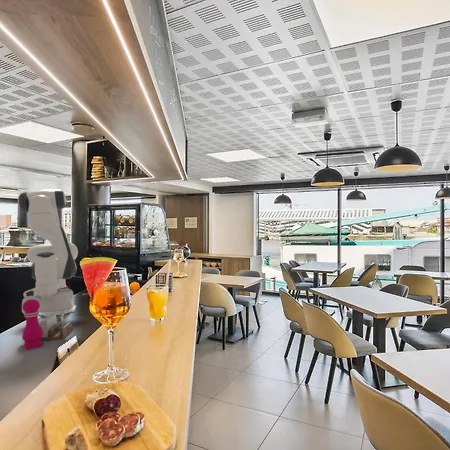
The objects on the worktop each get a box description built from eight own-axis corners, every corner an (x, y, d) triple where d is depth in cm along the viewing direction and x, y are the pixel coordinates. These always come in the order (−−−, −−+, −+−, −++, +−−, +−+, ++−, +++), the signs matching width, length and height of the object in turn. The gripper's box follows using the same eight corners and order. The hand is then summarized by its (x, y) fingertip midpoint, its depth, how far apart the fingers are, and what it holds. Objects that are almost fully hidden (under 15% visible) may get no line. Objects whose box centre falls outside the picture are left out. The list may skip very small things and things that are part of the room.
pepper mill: (20, 350, 130) (17, 298, 131) (25, 344, 137) (23, 295, 138) (41, 347, 132) (38, 296, 132) (45, 342, 139) (42, 293, 139)
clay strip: (51, 329, 154) (50, 313, 154) (57, 328, 154) (56, 313, 154) (41, 337, 142) (40, 320, 142) (47, 337, 142) (46, 320, 142)
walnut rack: (37, 332, 154) (37, 324, 154) (72, 329, 156) (72, 321, 156) (24, 343, 140) (24, 333, 140) (63, 338, 142) (62, 330, 142)
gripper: (74, 286, 153) (76, 317, 153) (25, 290, 150) (27, 322, 150) (70, 289, 147) (72, 321, 147) (19, 293, 143) (21, 326, 143)
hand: (49, 321), depth 148 cm, fingers open, 8 cm apart
